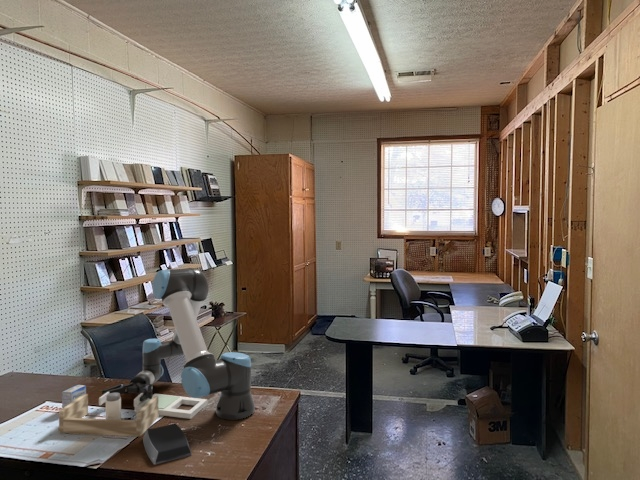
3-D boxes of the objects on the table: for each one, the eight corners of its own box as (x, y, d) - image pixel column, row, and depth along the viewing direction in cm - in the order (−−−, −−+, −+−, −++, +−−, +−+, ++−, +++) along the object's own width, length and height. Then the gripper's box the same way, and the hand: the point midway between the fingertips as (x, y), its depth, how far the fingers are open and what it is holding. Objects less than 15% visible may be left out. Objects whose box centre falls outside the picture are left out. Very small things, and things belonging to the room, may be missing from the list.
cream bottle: (124, 420, 166) (124, 393, 165) (114, 426, 161) (114, 398, 160) (111, 418, 167) (111, 391, 166) (102, 425, 162) (102, 396, 161)
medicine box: (71, 414, 170) (71, 392, 169) (61, 413, 171) (61, 391, 170) (86, 406, 177) (86, 385, 177) (76, 405, 178) (76, 384, 178)
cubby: (84, 414, 170) (84, 393, 170) (158, 416, 169) (158, 396, 169) (59, 433, 155) (59, 411, 154) (140, 436, 154) (140, 413, 153)
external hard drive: (151, 467, 136) (151, 454, 136) (140, 440, 152) (140, 428, 152) (194, 456, 142) (194, 443, 142) (179, 431, 159) (179, 420, 159)
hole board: (207, 404, 182) (207, 398, 182) (190, 418, 168) (190, 412, 168) (155, 398, 187) (155, 392, 187) (134, 412, 173) (134, 406, 173)
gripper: (170, 391, 188) (149, 413, 167) (113, 389, 189) (85, 410, 168) (170, 374, 188) (149, 393, 167) (113, 372, 189) (85, 391, 168)
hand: (117, 402), depth 167 cm, fingers open, 13 cm apart
